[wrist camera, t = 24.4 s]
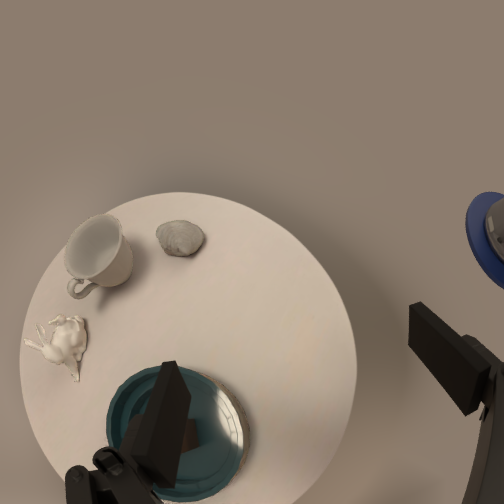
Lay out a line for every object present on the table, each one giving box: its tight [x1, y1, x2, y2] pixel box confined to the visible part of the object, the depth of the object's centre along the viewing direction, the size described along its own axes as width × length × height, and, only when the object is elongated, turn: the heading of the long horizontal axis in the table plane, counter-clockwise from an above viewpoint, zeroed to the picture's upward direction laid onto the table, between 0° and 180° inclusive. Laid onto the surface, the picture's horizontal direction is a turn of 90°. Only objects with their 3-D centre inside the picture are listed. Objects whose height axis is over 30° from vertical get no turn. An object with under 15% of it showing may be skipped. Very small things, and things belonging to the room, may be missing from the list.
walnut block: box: [181, 418, 199, 454], centre depth 32 cm, size 4×4×10 cm
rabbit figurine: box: [24, 314, 87, 382], centre depth 42 cm, size 12×8×10 cm, turn 170°
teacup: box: [65, 214, 133, 299], centre depth 47 cm, size 12×15×10 cm
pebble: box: [156, 220, 204, 257], centre depth 51 cm, size 9×8×5 cm
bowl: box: [106, 366, 250, 502], centre depth 35 cm, size 20×20×6 cm
